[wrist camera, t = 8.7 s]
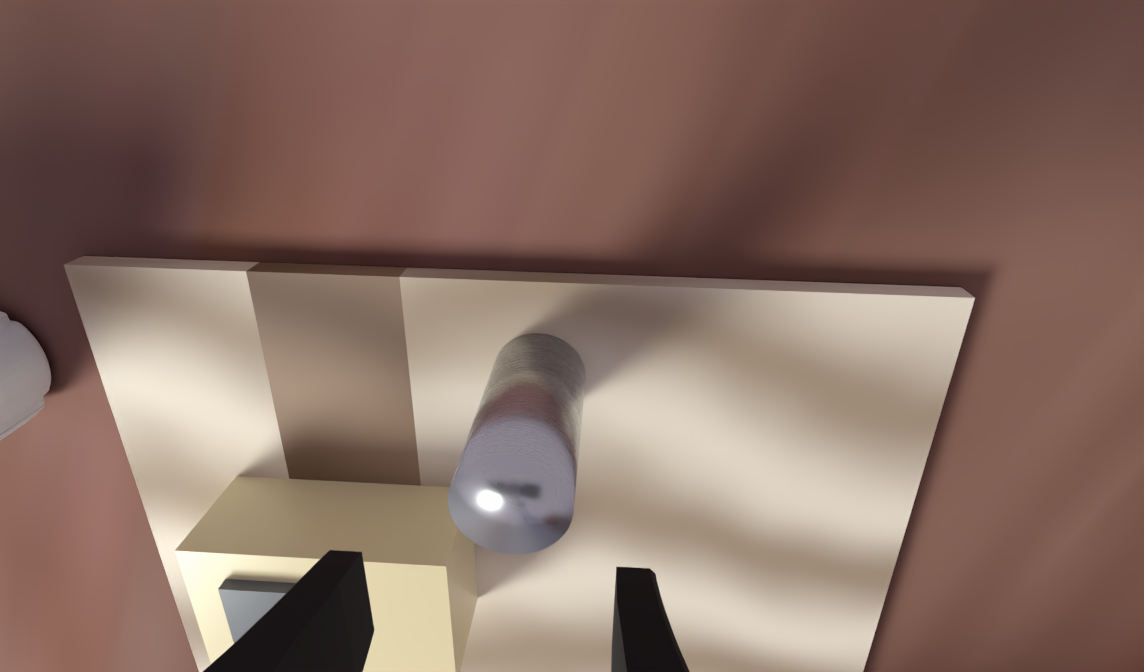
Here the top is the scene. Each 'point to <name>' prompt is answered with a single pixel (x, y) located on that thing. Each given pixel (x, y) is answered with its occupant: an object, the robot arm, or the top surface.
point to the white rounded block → (20, 375)
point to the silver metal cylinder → (522, 449)
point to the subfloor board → (607, 441)
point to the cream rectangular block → (345, 523)
